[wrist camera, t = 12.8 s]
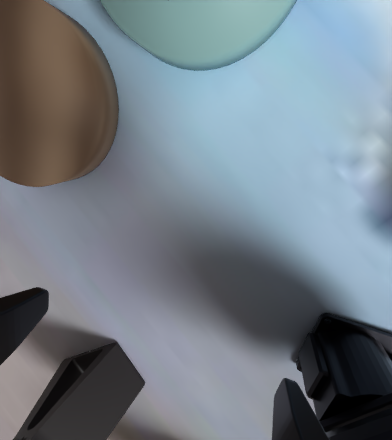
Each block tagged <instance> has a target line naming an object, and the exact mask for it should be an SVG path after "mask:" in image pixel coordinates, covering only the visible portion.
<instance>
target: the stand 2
mask: <svg viewBox="0 0 392 440" xmlns="http://www.w3.org/2000/svg"><path fill="white" fill-rule="evenodd" d="M296 1H297V0H169V1H168V0H101V2H102V4H103V6H104V8H105V9H106V11H107V12H108V14H109V15H110V17H111V18H112V19H113V21H114V22H115V23H116V24H117V25H118V26H119V28H120V29H121V30H122V31H123V32H124V33H126V34H127V35H128V36H129V37H130V38H131V39H132V40H134V41H135V42H136V43H137V44H139V45H140V46H141V47H143V48H144V49H145V50H147V51H148V52H149V53H151V54H152V55H154V56H155V57H157V58H158V59H160V60H161V61H163V62H165V63H167V64H169V65H172V66H175V67H178V68H181V69H187V70H194V71H198V70H211V69H217V68H221V67H224V66H227V65H230V64H232V63H235V62H237V61H239V60H241V59H243V58H244V57H246V56H247V55H249V54H251V53H252V52H254V51H255V50H256V49H257V48H259V47H260V46H261V45H262V44H263V43H265V42H266V41H267V40H268V39H269V38H270V37H271V36H272V35H273V33H274V32H275V31H276V30H277V29H278V28H279V27H280V25H281V24H282V23H283V21H284V20H285V19H286V17H287V16H288V14H289V13H290V11H291V9H292V8H293V6H294V4H295V3H296Z"/></svg>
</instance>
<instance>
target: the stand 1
mask: <svg viewBox="0 0 392 440" xmlns="http://www.w3.org/2000/svg"><path fill="white" fill-rule="evenodd" d="M118 113H119V106H118V95H117V89H116V84H115V80H114V77H113V73H112V71H111V68H110V66H109V63H108V61H107V59H106V57H105V55H104V53H103V51H102V50H101V48H100V47H99V45H98V44H97V42H96V41H95V39H94V38H93V37H92V36H91V35H90V34H89V32H88V31H87V30H86V29H85V28H84V27H82V26H81V25H80V24H79V23H78V22H77V21H75V20H74V19H72V18H71V17H69V16H68V15H66V14H65V13H63V12H61V11H60V10H58V9H57V8H55V7H53V6H52V5H50V4H49V3H47V2H45V1H44V0H0V176H2V177H3V178H5V179H7V180H9V181H12V182H14V183H17V184H20V185H25V186H31V187H42V186H48V185H53V184H57V183H61V182H65V181H69V180H73V179H77V178H80V177H82V176H85V175H87V174H88V173H90V172H91V171H93V170H94V169H95V168H96V167H97V166H99V165H100V163H101V162H102V161H103V160H104V159H105V157H106V155H107V154H108V152H109V150H110V148H111V146H112V144H113V141H114V138H115V134H116V131H117V125H118Z"/></svg>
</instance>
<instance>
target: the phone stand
mask: <svg viewBox="0 0 392 440" xmlns="http://www.w3.org/2000/svg"><path fill="white" fill-rule="evenodd" d="M144 385H145V382H144V380H143V379H142V377H141V376H140V375H139V373H138V372H137V370H136V369H135V367H134V366H133V365H132V363H131V362H130V360H129V359H128V358H127V356H126V355H125V353H124V352H123V350H122V349H121V348H120V346H119V345H118V343H117V342H115V343H112V344H109V345H106V346H103V347H100V348H97V349H94V350H91V351H90V352H89V351H88V352H85V353H82V354H79V355H76V356H73V357H70V358H67V359H65V360H64V361H63V362H62V363H61V365H60V366H59V368H58V369H57V371H56V373H55V374H54V376H53V377H52V379H51V381H50V382H49V384H48V385H47V387H46V389H45V390H44V392H43V393H42V395H41V397H40V398H39V400H38V401H37V403H36V405H35V406H34V408H33V409H32V411H31V413H30V414H29V416H28V417H27V419H26V420H25V422H24V424H23V425H22V427H21V428H20V430H19V432H18V433H17V435H16V436H15V438H14V439H13V440H106V439H107V438H108V436H109V435H110V433H111V432H112V431H113V429H114V428H115V426H116V425H117V423H118V422H119V421H120V419H121V418H122V416H123V415H124V414H125V412H126V411H127V409H128V408H129V406H130V405H131V404H132V402H133V401H134V399H135V398H136V396H137V395H138V394H139V392H140V391H141V389H142V388H143V386H144Z"/></svg>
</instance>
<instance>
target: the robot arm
mask: <svg viewBox="0 0 392 440" xmlns="http://www.w3.org/2000/svg"><path fill="white" fill-rule="evenodd" d="M48 306H49V293H48V291H47V290H45V289H43V288H40V287H36V288H32V289H29V290H25V291H22V292H19V293H15V294H12V295H9V296H5V297H2V298H0V365H1V364H2V363H3V362H4V361H5V360H6V359H7V358H8V357H9V356H10V355H11V354H12V353H13V352H14V351H15V350H16V348H17V347H18V346H19V345H20V344H21V343H22V342H23V340H24V339H25V338H26V337H27V335H28V334H29V333H30V332H31V331H32V329H33V328H34V327H35V326H36V325H37V323H38V322H39V321H40V320H41V319H42V317H43V316H44V315H45V314H46V312H47V310H48ZM325 319H329V320H328V321H325ZM296 366H297V369H298V370H299V371H301V372H302V374H303V380H304V385H305V390H306V394H307V396H308V398H311V399H313V402H314V407H315V412H316V415H315V413H314V411H313V410H312V408H311V406H310V404H309V403H308V401H307V399H306V397H305V396H304V394H303V392H302V390H301V389H300V387H299V385H298V384H297V383H296V382H295V381H292V380H290V379H287V378H284V379H283V380H282V381H281V383H280V385H279V387H278V389H277V391H276V393H275V397H274V408H273V429H272V440H392V334H390V333H387V332H384V331H380V330H377V329H374V328H371V327H368V326H365V325H362V324H359V323H356V322H353V321H350V320H347V319H344V318H341V317H338V316H335V315H332V314H328V313H324V314H322V315H321V316H320V318H319V320H318V322H317V323H316V325H315V327H314V329H313V331H312V332H311V333H309V334H308V336H307V338H306V340H305V342H304V344H303V346H302V348H301V350H300V351H299V358H298V360H297V362H296Z"/></svg>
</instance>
